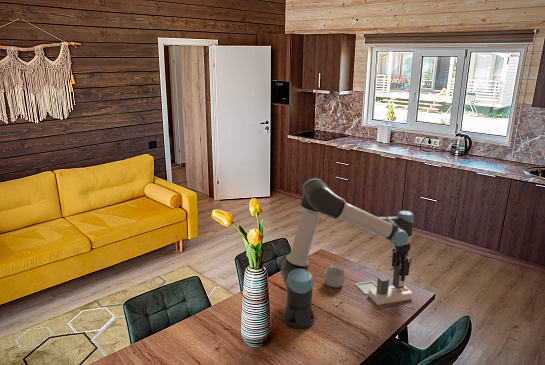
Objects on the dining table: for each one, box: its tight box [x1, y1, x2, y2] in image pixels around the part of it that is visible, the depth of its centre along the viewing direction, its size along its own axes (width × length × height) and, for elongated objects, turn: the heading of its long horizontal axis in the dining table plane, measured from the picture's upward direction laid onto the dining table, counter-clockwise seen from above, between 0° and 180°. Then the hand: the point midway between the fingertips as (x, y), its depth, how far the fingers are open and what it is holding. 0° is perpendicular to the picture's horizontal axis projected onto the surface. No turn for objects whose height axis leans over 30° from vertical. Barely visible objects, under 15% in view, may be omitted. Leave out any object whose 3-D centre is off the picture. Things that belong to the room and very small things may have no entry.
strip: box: [367, 276, 414, 306], centre depth 218 cm, size 20×9×12 cm, turn 107°
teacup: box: [324, 265, 346, 289], centre depth 232 cm, size 14×11×8 cm
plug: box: [392, 264, 405, 289], centre depth 218 cm, size 4×4×11 cm
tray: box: [354, 280, 377, 296], centre depth 228 cm, size 11×11×1 cm
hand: (398, 283), depth 219 cm, fingers closed on plug, 4 cm apart
